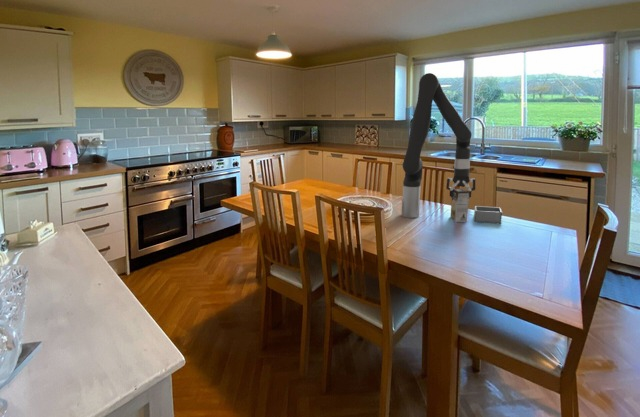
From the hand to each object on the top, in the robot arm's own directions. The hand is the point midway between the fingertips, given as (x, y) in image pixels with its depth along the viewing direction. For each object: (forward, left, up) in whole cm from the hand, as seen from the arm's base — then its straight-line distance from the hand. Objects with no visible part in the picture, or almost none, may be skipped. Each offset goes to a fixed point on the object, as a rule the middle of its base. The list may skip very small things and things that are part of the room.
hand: (460, 197), depth 202 cm
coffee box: (0, 0, -12) cm, 12 cm away
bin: (+14, +3, -12) cm, 19 cm away
